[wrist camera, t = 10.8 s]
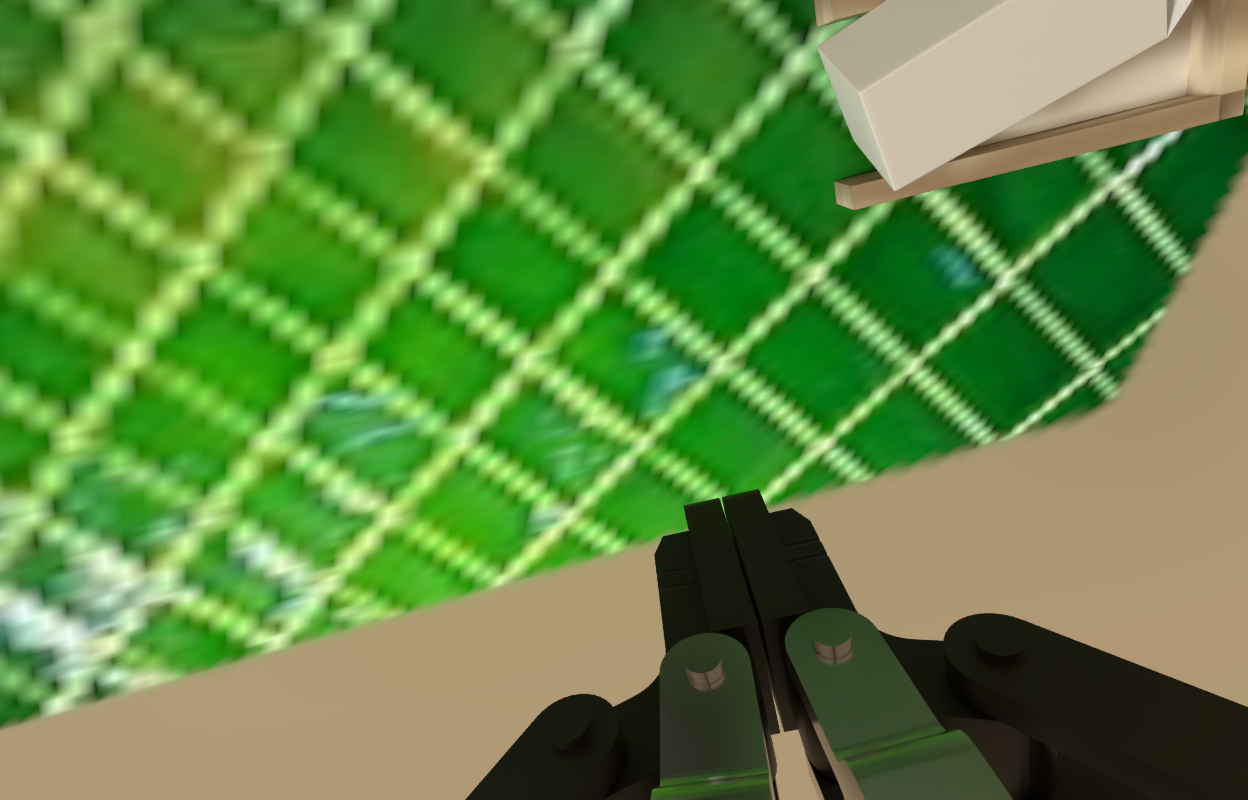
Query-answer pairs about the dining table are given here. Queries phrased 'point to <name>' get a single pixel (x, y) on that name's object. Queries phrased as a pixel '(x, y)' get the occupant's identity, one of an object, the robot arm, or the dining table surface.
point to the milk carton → (973, 69)
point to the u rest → (1095, 102)
